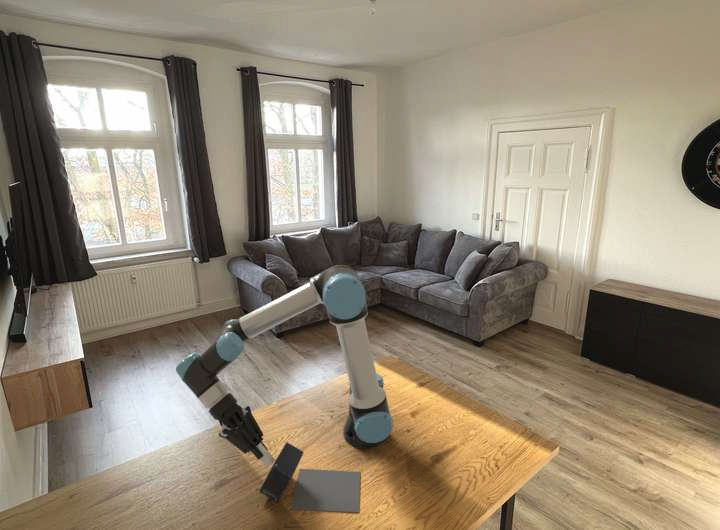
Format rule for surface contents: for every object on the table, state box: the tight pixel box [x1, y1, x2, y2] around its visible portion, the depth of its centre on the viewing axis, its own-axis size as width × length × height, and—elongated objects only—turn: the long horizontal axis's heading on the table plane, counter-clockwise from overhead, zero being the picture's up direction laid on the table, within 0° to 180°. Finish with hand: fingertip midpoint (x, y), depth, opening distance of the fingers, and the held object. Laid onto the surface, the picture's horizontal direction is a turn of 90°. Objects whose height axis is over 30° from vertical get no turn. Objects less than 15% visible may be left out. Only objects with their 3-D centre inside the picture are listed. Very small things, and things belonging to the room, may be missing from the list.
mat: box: [289, 468, 361, 514], centre depth 114 cm, size 19×15×1 cm
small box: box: [258, 441, 304, 503], centre depth 113 cm, size 11×6×10 cm, turn 168°
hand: (270, 463), depth 112 cm, fingers closed
